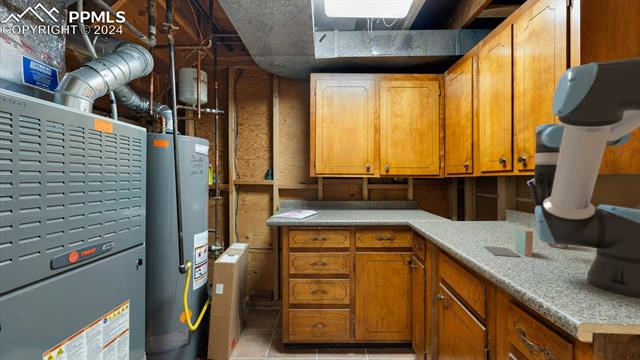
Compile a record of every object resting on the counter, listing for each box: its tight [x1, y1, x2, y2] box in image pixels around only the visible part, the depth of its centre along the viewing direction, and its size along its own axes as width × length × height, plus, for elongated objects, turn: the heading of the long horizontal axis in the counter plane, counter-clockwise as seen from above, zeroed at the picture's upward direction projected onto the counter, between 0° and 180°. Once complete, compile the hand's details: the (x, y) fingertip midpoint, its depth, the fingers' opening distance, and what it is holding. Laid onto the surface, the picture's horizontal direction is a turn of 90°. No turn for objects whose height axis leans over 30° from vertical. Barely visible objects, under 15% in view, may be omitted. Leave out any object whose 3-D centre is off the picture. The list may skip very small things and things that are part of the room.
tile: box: [515, 226, 534, 258], centre depth 110 cm, size 8×2×10 cm, turn 167°
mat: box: [483, 246, 522, 258], centre depth 112 cm, size 12×9×1 cm
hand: (544, 222), depth 109 cm, fingers closed
